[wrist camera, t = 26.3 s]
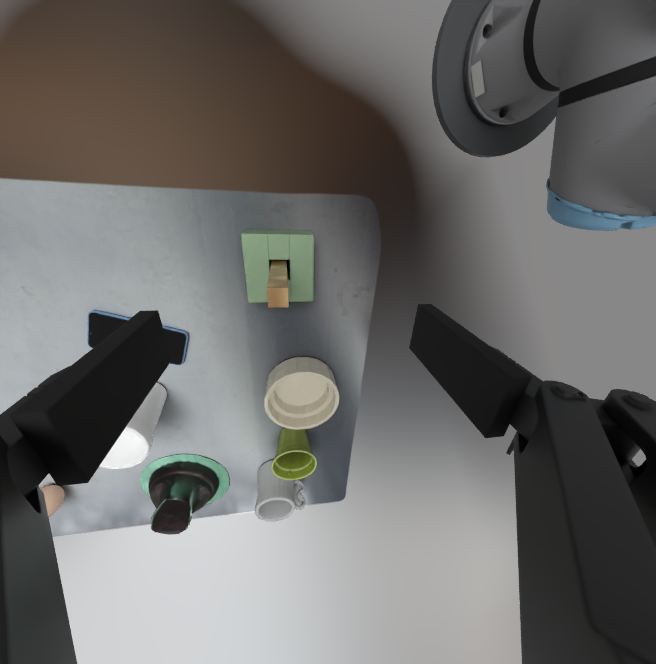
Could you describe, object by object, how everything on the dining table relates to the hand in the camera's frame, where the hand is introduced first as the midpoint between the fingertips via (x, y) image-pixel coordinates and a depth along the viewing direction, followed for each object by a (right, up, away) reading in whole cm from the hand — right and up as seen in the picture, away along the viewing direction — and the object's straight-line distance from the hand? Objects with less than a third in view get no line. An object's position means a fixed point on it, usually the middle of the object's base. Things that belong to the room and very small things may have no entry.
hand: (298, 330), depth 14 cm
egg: (-59, -35, +45) cm, 82 cm away
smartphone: (-31, -1, +32) cm, 45 cm away
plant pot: (-7, -24, +49) cm, 55 cm away
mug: (-10, -36, +54) cm, 66 cm away
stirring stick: (-6, +12, +30) cm, 33 cm away
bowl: (-4, -11, +42) cm, 44 cm away
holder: (-6, +12, +30) cm, 33 cm away
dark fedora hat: (-33, -37, +51) cm, 71 cm away
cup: (-33, -12, +38) cm, 52 cm away
